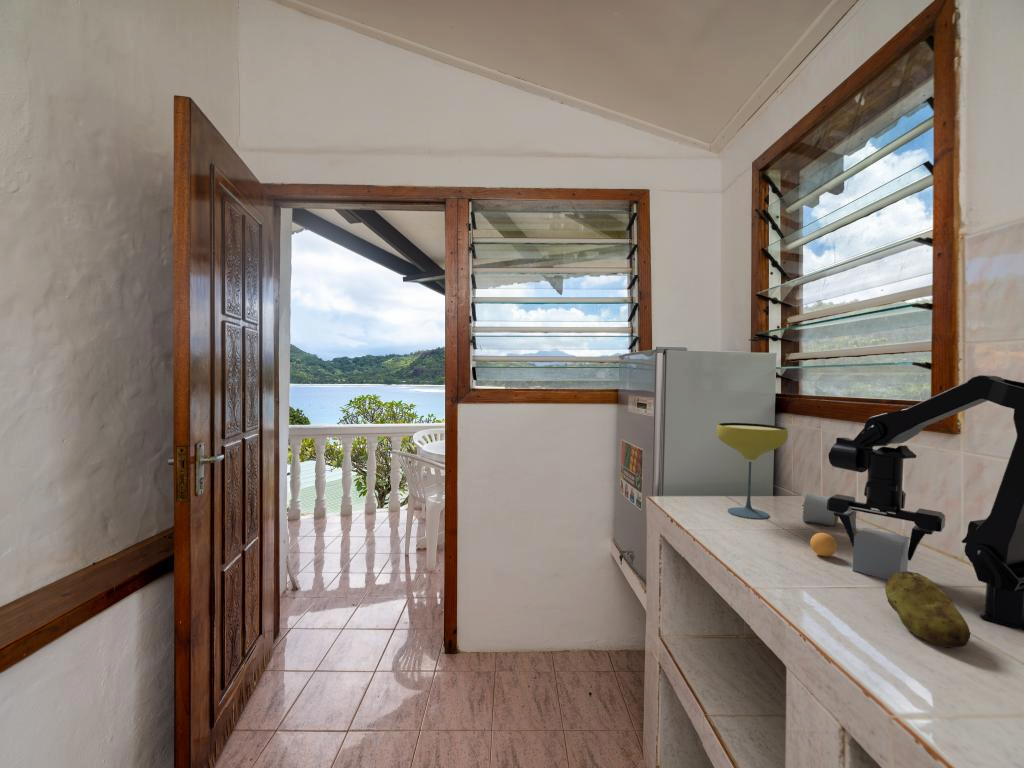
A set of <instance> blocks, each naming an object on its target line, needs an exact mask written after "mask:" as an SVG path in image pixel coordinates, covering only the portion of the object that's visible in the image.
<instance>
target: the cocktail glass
mask: <svg viewBox="0 0 1024 768" xmlns="http://www.w3.org/2000/svg"><path fill="white" fill-rule="evenodd" d="M788 432H789V431H788V428H786V427H784V426H778V425H772V424H763V423H750V422H748V423H747V422H722V423H718V425H717V427H716V435H717V438H719V440H720V441H721V442H723V443H724V444H725V445H727V446H728V447H729V448H731V449H734V450H735V451H737V452H738V453H740V454H741V455H742V457H743V458H744V459H745V461H747V462H748V477H747V479H748V480H747V481H748V482H747V495H746V502H745V506H744V507H743V506H741V507H740V506H736V507H729V508H727V512H728V513H729V514H730V515H733V516H735V517H739V518H744V519H749V518H751V520H765V519H764V518H766V519H768V518H769V517H770V514H769V513H768V512H766V511H763V510H761V509H757V508H753V507H752V504H751V483H752V482H751V479H752V478H751V477H752V463H754V462H755V461H756V460H757V459H758V458H759V457H760V456H762V455H763V454H765V453H768V452H772V451H774V450H776V449H778V448H781V447H782V446H783V445H784V444H786V443H787V441H788V436H789V433H788Z"/></svg>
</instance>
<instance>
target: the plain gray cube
mask: <svg viewBox="0 0 1024 768" xmlns="http://www.w3.org/2000/svg"><path fill="white" fill-rule="evenodd" d="M856 533H857V534H855V535H854V547H853V550H852V551H853V552H852V553H853V555H852V556H853V557H852V571H853V572H855V571H858V572H857V573H859V572H861V573H860V574H863V573H865V574H864V575H867V574H869V575H868V576H870V575H872V576H871V577H874V576H876V577H875V578H878V577H879V578H878V579H882V578H883V580H886V579H887V580H888V578H889V577H890V576H891V575H892V574H894V573H900V572H905V571H908V562H909V560H908V549H909V544H910V537H908V536H904V535H899V534H894V533H889V532H884V531H880V530H875V529H870V528H865V527H863V528H861V529H860V530H859V531H858V532H856ZM887 580H886V581H887Z"/></svg>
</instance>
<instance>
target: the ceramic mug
mask: <svg viewBox="0 0 1024 768" xmlns="http://www.w3.org/2000/svg"><path fill="white" fill-rule="evenodd" d="M829 498H830V497H827V496H824V495H817V494H814V493H809V492H806V493H805V495H804V501H803V510H802V521H803V522H806V523H813V524H818V525H823V526H824V525H825V526H828V525H829V526H831V527H836V526H837V525H839V517H838V516H835V515H834V511H829V510H827V501H828V499H829Z"/></svg>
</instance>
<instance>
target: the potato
mask: <svg viewBox="0 0 1024 768" xmlns="http://www.w3.org/2000/svg"><path fill="white" fill-rule="evenodd" d="M884 587H885V588H884V589H885V595H886V598H887V602H888V604H889V605H890V607H891V609H893V611H895V612H896V613H897V615H898V617H899V620H900V621H901V623H902V625H903V626H904V627H905V628H906V629H907V630H908V631H910V632H911V633H912V634H914V635H915V636H917V637H919V638H921V639H923V640H925V641H927V642H929V643H932V644H935V645H938V646H942V647H943V648H948V649H952V648H953V649H957V648H959V649H960V648H963V647H965V646H966V645H967V644H968V642H969V640H970V638H971V634H972V633H971V631H970V628H969V625H968V623H967V621H966V620H965V618H964V617H963V615H962V614H961V612H960V611H959V610H958V609H957V607H956V606H955V604H954V603H953V600H952V599H951V598H950V597H949V596H948V595H947V594H946V593H945V592H944V591H943V590H941V589H940V587H938V586H937V585H936V584H935V583H934V582H933V581H932V580H931V579H929V578H928V577H926V576H925V575H922V574H920V573H918V572H913V571H908V570H907V571H905V572H900V573H894V574H892V575H891V576H890V577H889V578H888V580H886V581H885V586H884Z"/></svg>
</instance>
